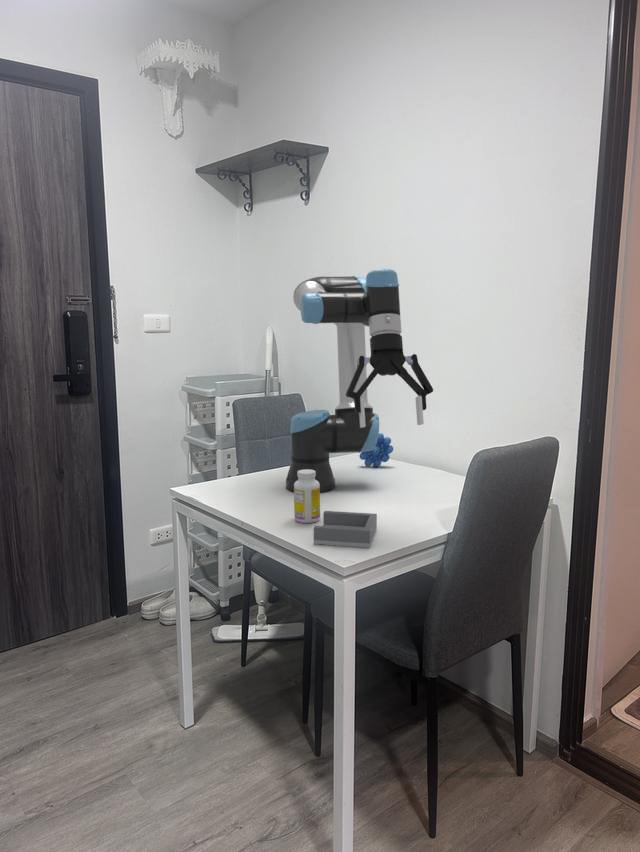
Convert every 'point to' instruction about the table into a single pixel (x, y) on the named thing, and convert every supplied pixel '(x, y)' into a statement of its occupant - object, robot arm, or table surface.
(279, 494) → the table surface
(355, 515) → the gray open-sided tray
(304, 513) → the supplement bottle
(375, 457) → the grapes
